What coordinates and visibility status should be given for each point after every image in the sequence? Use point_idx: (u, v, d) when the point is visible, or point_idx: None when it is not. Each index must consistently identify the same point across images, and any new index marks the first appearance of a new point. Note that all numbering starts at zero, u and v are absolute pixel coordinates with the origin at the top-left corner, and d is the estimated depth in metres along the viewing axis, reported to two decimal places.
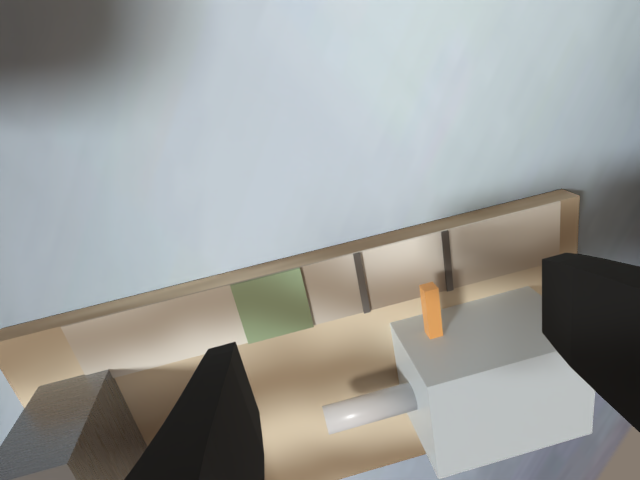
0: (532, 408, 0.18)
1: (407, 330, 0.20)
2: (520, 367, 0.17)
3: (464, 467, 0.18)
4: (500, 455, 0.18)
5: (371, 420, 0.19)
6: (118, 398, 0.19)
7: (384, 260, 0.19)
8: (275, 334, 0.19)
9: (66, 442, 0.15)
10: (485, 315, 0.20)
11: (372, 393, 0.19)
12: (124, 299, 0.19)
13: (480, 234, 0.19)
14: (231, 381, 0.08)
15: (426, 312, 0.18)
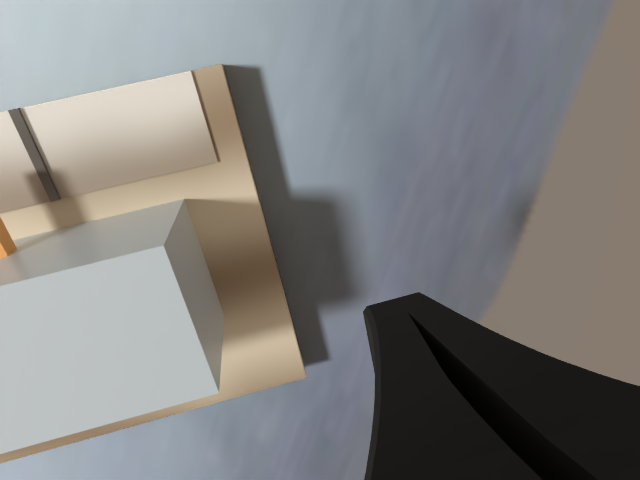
0: (96, 353, 0.12)
1: None
2: (41, 287, 0.11)
3: (20, 442, 0.13)
4: (75, 424, 0.13)
5: None
6: None
7: None
8: None
9: None
10: (89, 231, 0.14)
11: None
12: None
13: (76, 117, 0.14)
14: None
15: None
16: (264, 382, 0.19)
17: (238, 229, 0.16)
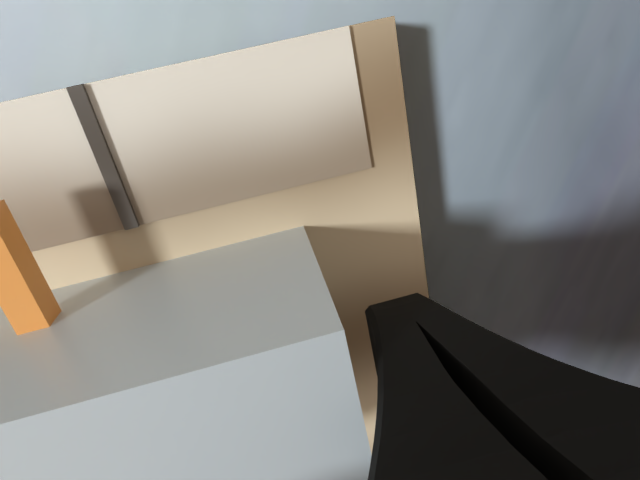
0: None
1: None
2: (124, 408, 0.06)
3: None
4: None
5: None
6: None
7: None
8: None
9: None
10: (173, 282, 0.09)
11: None
12: None
13: (171, 98, 0.09)
14: None
15: None
16: None
17: (387, 265, 0.11)
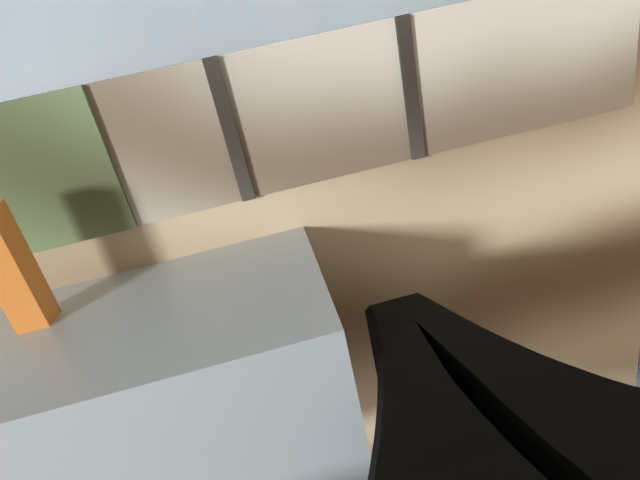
0: None
1: None
2: (124, 408, 0.06)
3: None
4: None
5: None
6: None
7: (276, 82, 0.09)
8: (53, 241, 0.09)
9: None
10: (173, 282, 0.09)
11: None
12: None
13: (478, 31, 0.09)
14: None
15: None
16: None
17: (622, 204, 0.12)
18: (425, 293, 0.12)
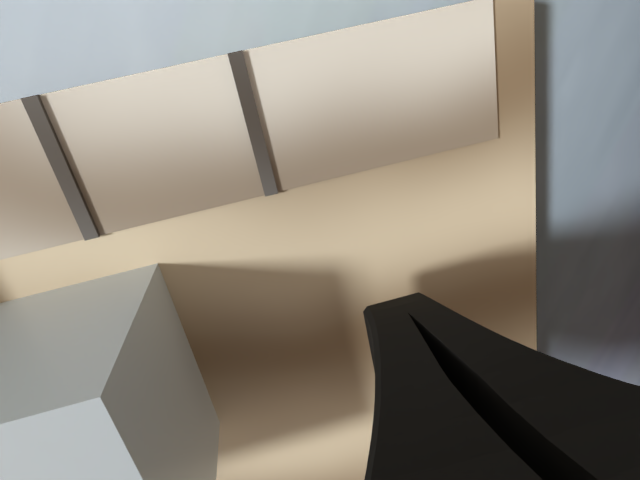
0: None
1: None
2: None
3: None
4: None
5: None
6: None
7: (109, 120, 0.09)
8: None
9: None
10: (0, 327, 0.09)
11: None
12: None
13: (320, 66, 0.09)
14: None
15: None
16: None
17: (500, 236, 0.11)
18: (299, 327, 0.11)
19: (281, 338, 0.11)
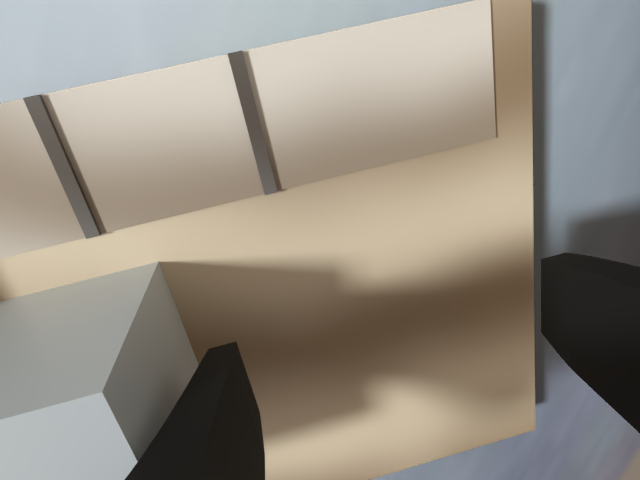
0: None
1: None
2: None
3: None
4: None
5: None
6: None
7: (110, 120, 0.09)
8: None
9: None
10: (2, 324, 0.09)
11: None
12: None
13: (320, 66, 0.09)
14: (232, 381, 0.08)
15: None
16: (484, 437, 0.14)
17: (498, 235, 0.11)
18: (298, 325, 0.11)
19: (281, 336, 0.12)
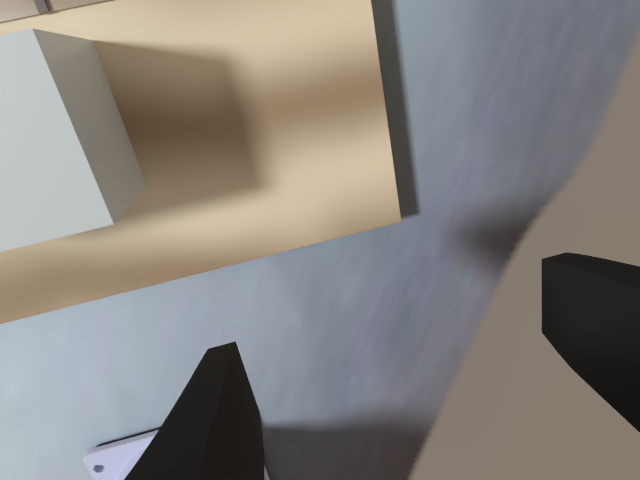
0: None
1: None
2: None
3: None
4: None
5: None
6: None
7: None
8: None
9: None
10: None
11: None
12: None
13: None
14: (231, 381, 0.08)
15: None
16: (359, 224, 0.18)
17: (348, 38, 0.16)
18: (201, 105, 0.16)
19: (188, 113, 0.16)
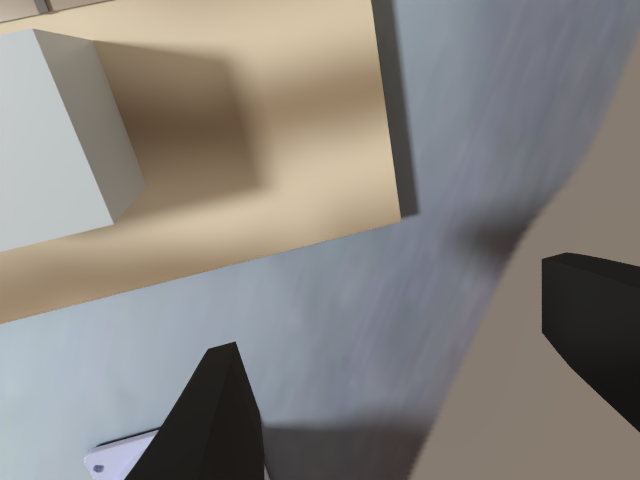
0: None
1: None
2: None
3: None
4: None
5: None
6: None
7: None
8: None
9: None
10: None
11: None
12: None
13: None
14: (231, 381, 0.08)
15: None
16: (359, 224, 0.18)
17: (348, 38, 0.16)
18: (201, 105, 0.16)
19: (188, 113, 0.16)
